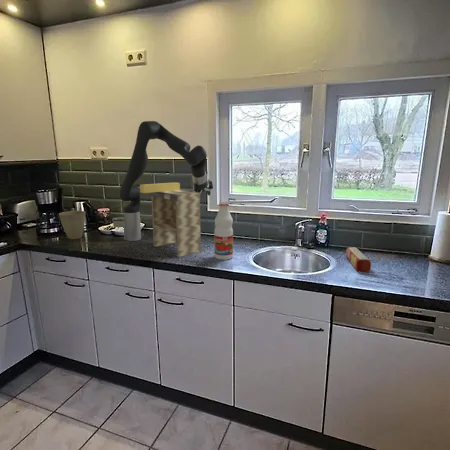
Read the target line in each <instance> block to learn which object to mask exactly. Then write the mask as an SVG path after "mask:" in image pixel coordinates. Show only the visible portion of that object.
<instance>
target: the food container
mask: <svg viewBox="0 0 450 450" xmlns="http://www.w3.org/2000/svg"><path fill="white" fill-rule="evenodd" d="M111 222H112V226H113V228H114V227H123V225H124V224H125V221H124V216H119V217H113V218H112V220H111Z"/></svg>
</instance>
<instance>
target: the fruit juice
mask: <svg viewBox="0 0 450 450" xmlns="http://www.w3.org/2000/svg"><path fill="white" fill-rule="evenodd" d="M218 207H219V209H218V212H217V215H216V216H215V218H214V224H215V228H214V254H213V255H214V258H215V259H217V260H220V261H225V260H226V261H228V260H230V259H232V258H233V256H234V253H233V252H234V229H233V222H234V219H233V217H232V215H231V212H230V210H229V207H230V203H228V202H219V203H218Z"/></svg>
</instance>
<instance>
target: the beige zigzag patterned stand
mask: <svg viewBox="0 0 450 450" xmlns="http://www.w3.org/2000/svg"><path fill="white" fill-rule="evenodd" d="M191 191H192V190H185V189H180V190H176V191H163V192H151V193H149V194H150V195H149V196H150V197H151V199H150V200H151V219H152V240H153V241H152V242H153V244H152V245H153V247H160V246H164V245H165V246H166V245H169V244H173V243H176V256H177V257H185V256H189V255H192V254H196V253H197V254H198V253H201V247H202V245H201V243H202V241H201V194H200V193H198V192H191Z"/></svg>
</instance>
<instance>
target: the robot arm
mask: <svg viewBox="0 0 450 450" xmlns="http://www.w3.org/2000/svg"><path fill="white" fill-rule="evenodd" d="M137 129H138V130H137V134H136V140H135V144H134V149H133V151H132V155H131V159H130V161H129V164H128V167H127V172H126V175H125V178H124V179H123V181H122V184H121V186H120V189H119V198H120V200H121V201H122V202H129V204H128V205H126V206H124V208H123V215H124V216H123V217H124V221H125V224H124V225H123V228H124V234H123V240H124V241H127V242H136V241H140V240H142V230H141V228H142V227H141V192H140V186H138V185H136V184H135V183H136V181H138V180H139V179H140V178H141V177H142V175H144V173H145V172H146V170H147V166H148V165H149V164H148V163H149V155H148V153H147V147H148V144H149V141H150V140H160V141H162V142H164V143H166V145H167V146H168V148H169V149H170V150H172V152H175V153H176V154H179V156H181V157H182V158H183V159H184V160H185V161H186V163H188V164H189V165H190V169H191V178H192V183H193V187H194V188H193V190H190V191H191V192H198V193H200V195H201V194H203V193H204V192H206V195H208V196H211V194H212V193H211V190H213V188H214V185H213V181H211V179H208V178H207V176H208V175H207V172H206V162H207V155H208V154H207V151H206V149H205V147H204V146H203V145H196V146H194V147H193V148H192V149H191V145H190V143H189V142H187V141H185V140H183V139H182V138H180V137H178V136H177V135H175V134H173V133H172V132H170V131H169V130H168V129H167V128H165V127H164V126H163V125H162V124H161V123H159V122H158V121H155V120H146V121H145V120H144V121H142V122H141V123H140V124H139V127H138V128H137Z"/></svg>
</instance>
